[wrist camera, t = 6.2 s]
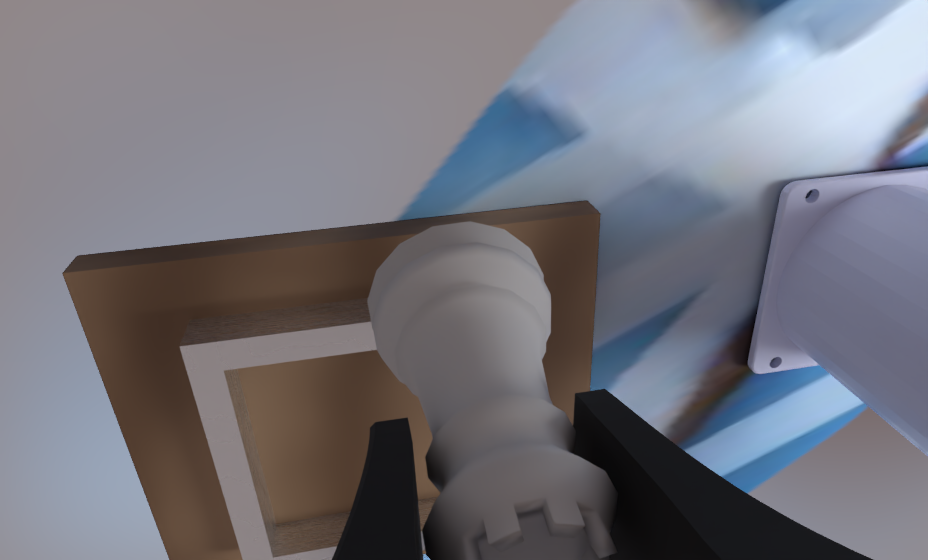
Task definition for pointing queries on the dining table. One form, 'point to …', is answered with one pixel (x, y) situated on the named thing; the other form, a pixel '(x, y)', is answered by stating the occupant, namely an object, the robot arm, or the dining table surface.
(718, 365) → the dining table surface
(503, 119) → the dining table surface
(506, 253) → the rook chess piece
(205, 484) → the collar board
